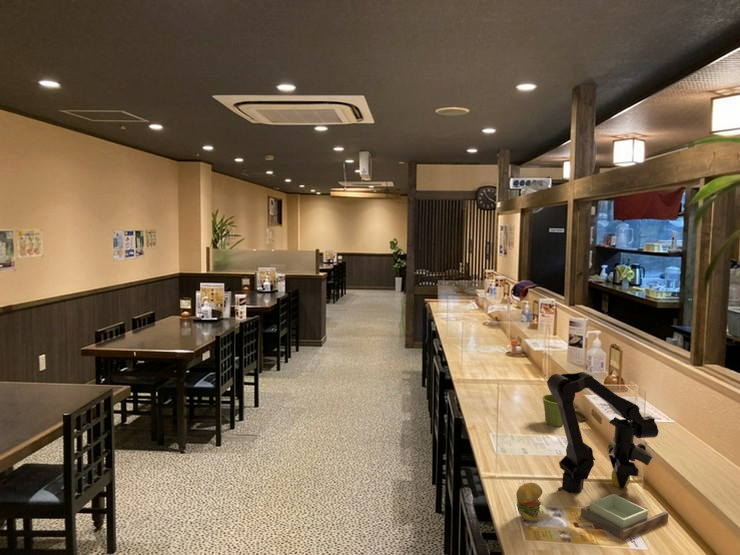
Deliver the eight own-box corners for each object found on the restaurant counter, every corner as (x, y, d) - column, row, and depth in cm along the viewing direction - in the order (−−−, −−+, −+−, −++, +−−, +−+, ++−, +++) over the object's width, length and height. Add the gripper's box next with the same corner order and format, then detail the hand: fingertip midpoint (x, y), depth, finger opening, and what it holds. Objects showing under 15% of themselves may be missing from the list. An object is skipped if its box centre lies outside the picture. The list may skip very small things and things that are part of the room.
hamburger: (542, 527, 159) (544, 487, 158) (516, 524, 160) (518, 484, 159) (538, 513, 167) (541, 474, 166) (513, 510, 168) (516, 472, 167)
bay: (622, 543, 152) (623, 531, 152) (580, 519, 164) (581, 508, 164) (667, 524, 163) (668, 512, 163) (624, 502, 175) (625, 492, 174)
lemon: (606, 486, 185) (608, 463, 185) (619, 483, 188) (621, 460, 187) (620, 494, 180) (622, 470, 180) (632, 491, 183) (634, 467, 182)
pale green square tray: (622, 535, 154) (624, 520, 154) (588, 516, 164) (590, 502, 163) (646, 525, 160) (648, 510, 160) (612, 507, 169) (613, 493, 169)
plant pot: (536, 424, 240) (538, 399, 239) (545, 417, 250) (546, 392, 249) (564, 431, 234) (566, 405, 232) (572, 423, 243) (574, 398, 242)
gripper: (658, 452, 171) (654, 501, 173) (644, 430, 189) (640, 475, 191) (619, 448, 174) (615, 496, 176) (608, 427, 192) (605, 470, 194)
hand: (620, 484), depth 184 cm, fingers closed on lemon, 5 cm apart
